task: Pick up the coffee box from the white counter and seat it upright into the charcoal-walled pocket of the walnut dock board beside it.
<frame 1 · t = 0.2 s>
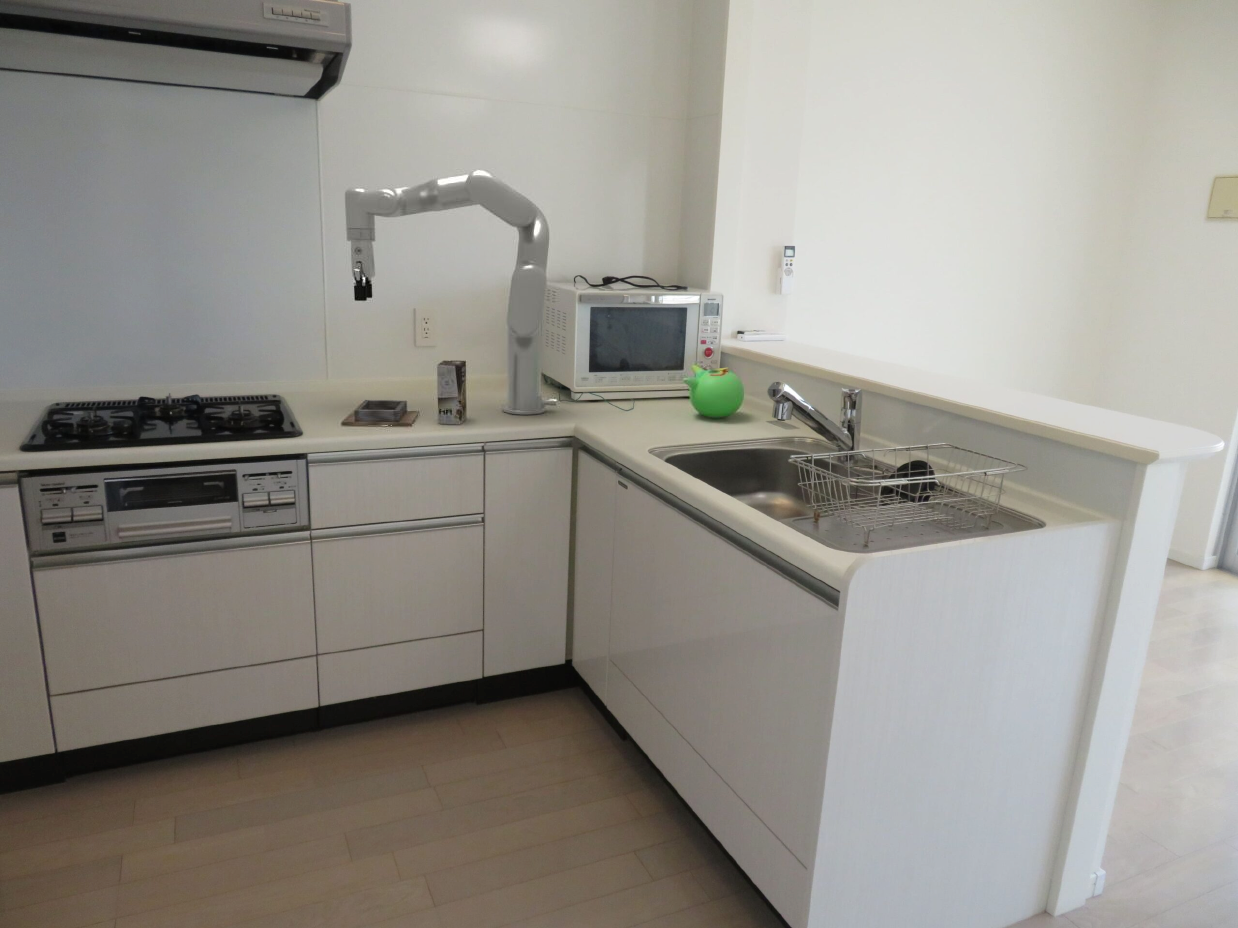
hand: (363, 299, 250), 31 cm above the worktop, tool pointing down, fingers open, 9 cm apart
dock: (381, 419, 244), on the worktop
coffee box: (452, 421, 246), on the worktop
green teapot: (713, 417, 262), on the worktop
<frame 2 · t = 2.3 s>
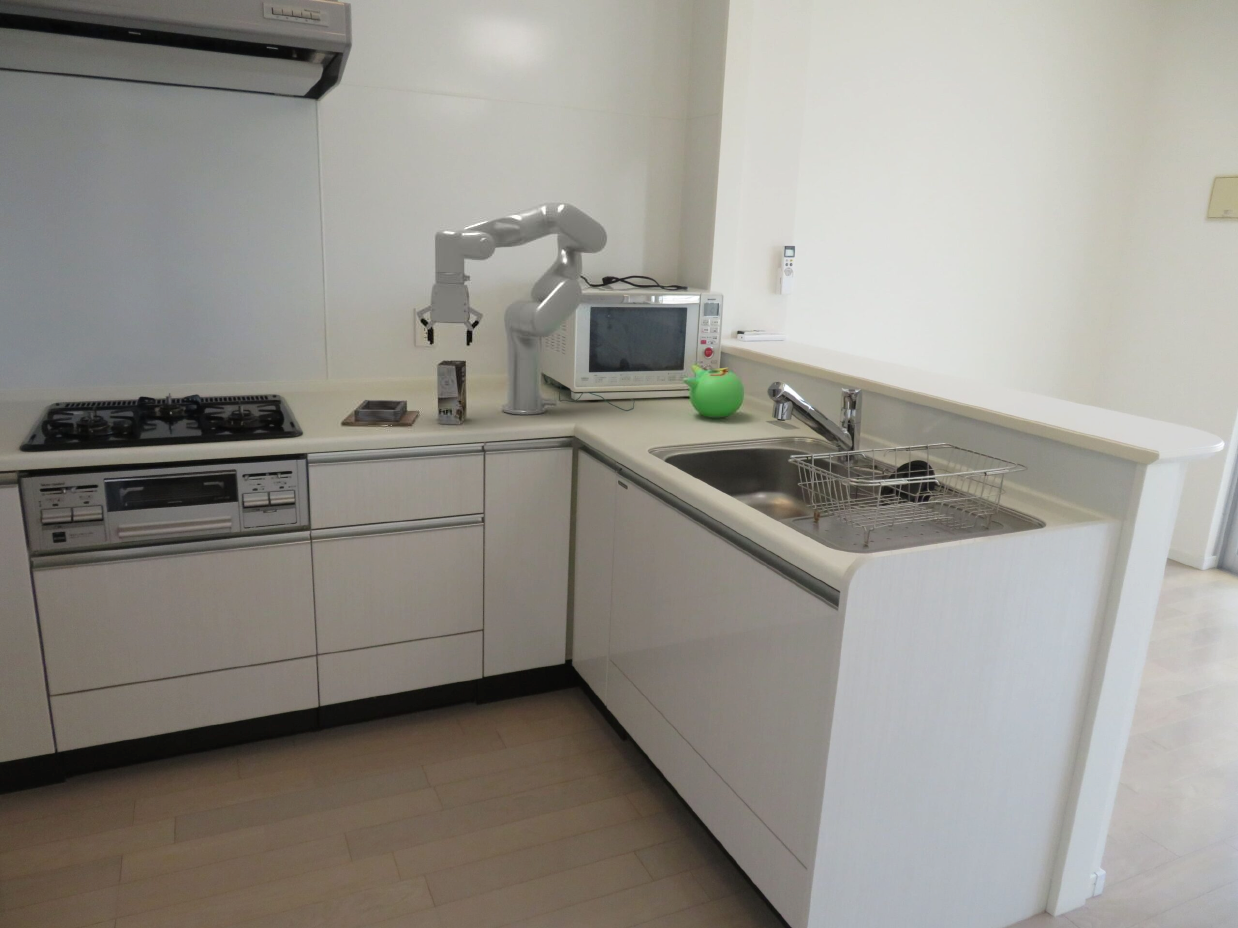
hand: (450, 344, 240), 21 cm above the worktop, tool pointing down, fingers open, 9 cm apart
nothing on the worktop moved.
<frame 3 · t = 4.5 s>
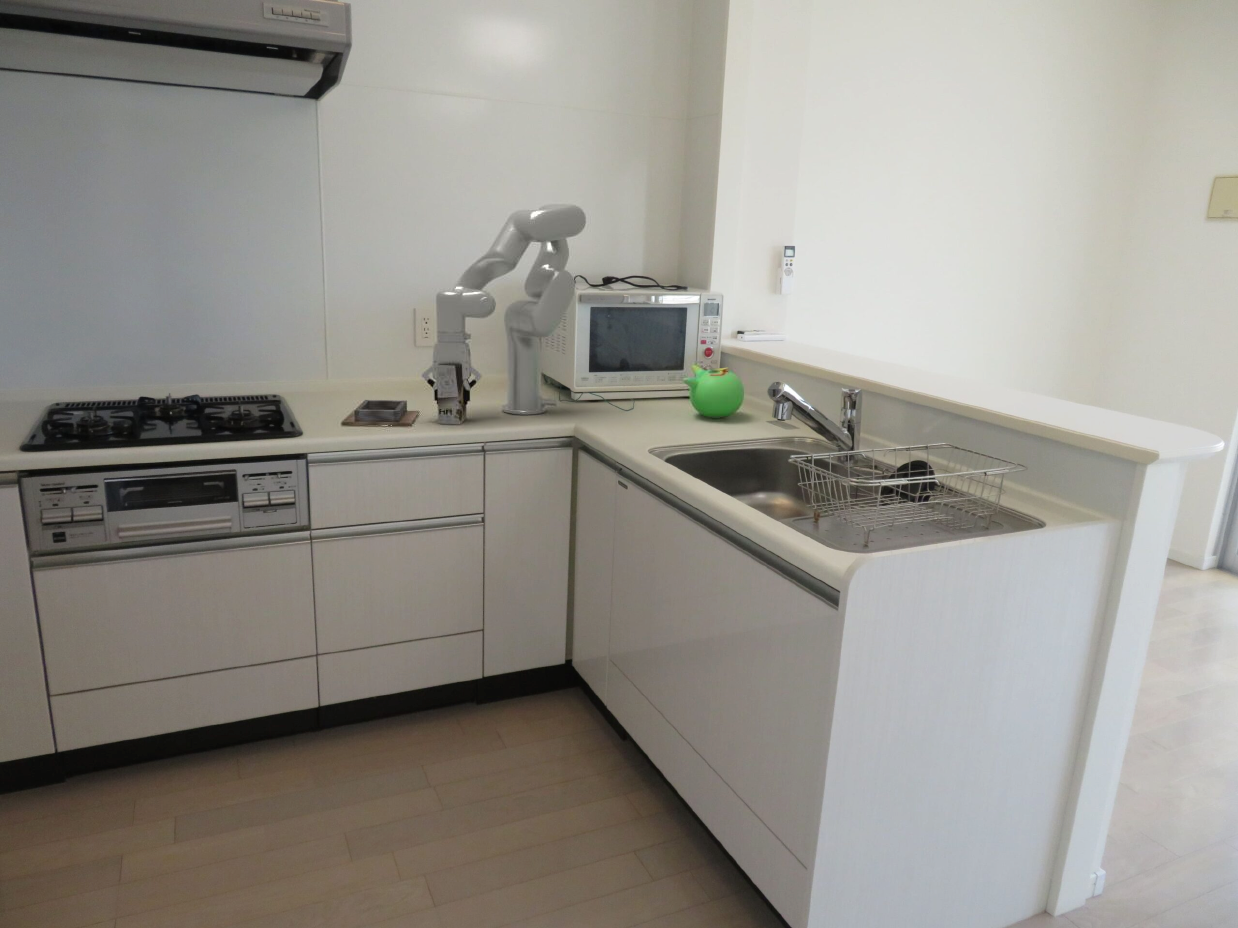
hand: (452, 403, 244), 5 cm above the worktop, tool pointing down, fingers closed on coffee box, 6 cm apart
coffee box: (452, 421, 246), on the worktop, touching gripper
everything else where it was.
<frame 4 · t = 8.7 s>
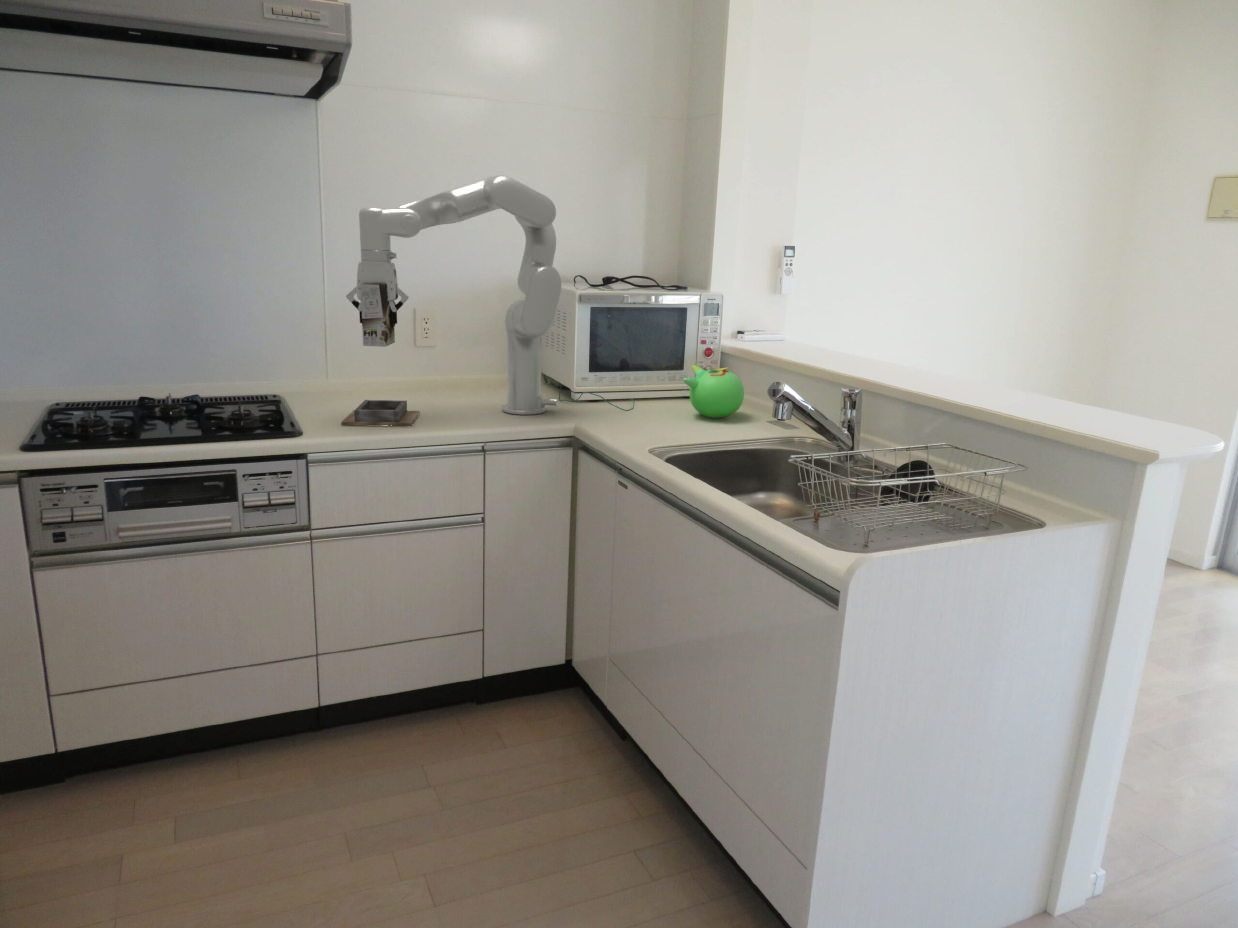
hand: (378, 326, 237), 25 cm above the worktop, tool pointing down, fingers closed on coffee box, 6 cm apart
coffee box: (379, 345, 239), point 20 cm above the worktop, touching gripper
everything else where it was.
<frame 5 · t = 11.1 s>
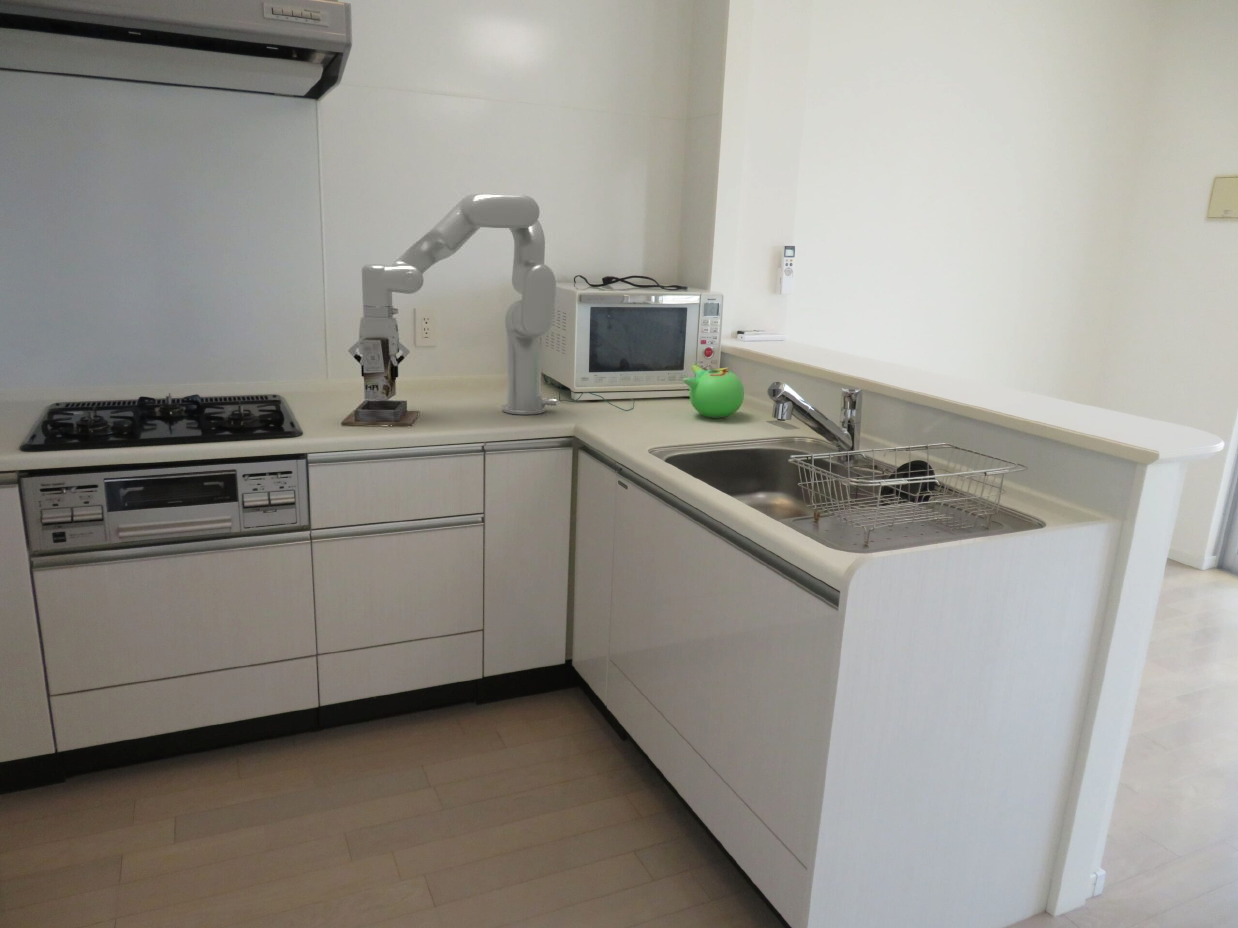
hand: (380, 379, 241), 11 cm above the worktop, tool pointing down, fingers closed on coffee box, 6 cm apart
coffee box: (380, 398, 242), point 6 cm above the worktop, touching gripper
everything else where it was.
when the fingers open (8 cm above the worktop, at t = 12.9 s): coffee box drops 2 cm, resting on dock.
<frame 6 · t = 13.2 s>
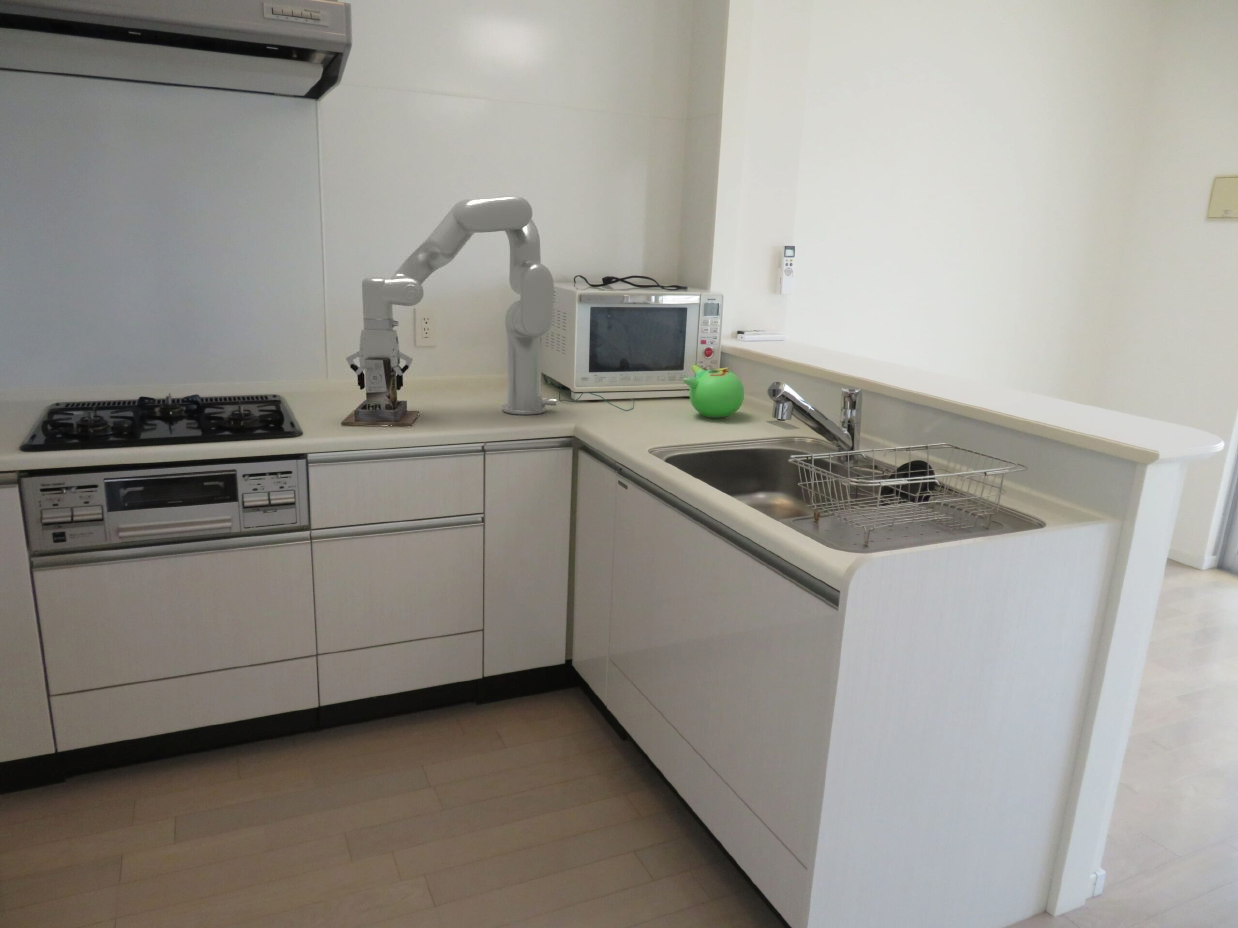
hand: (380, 389, 242), 8 cm above the worktop, tool pointing down, fingers open, 9 cm apart
coffee box: (382, 416, 244), point 1 cm above the worktop, touching dock
everything else where it was.
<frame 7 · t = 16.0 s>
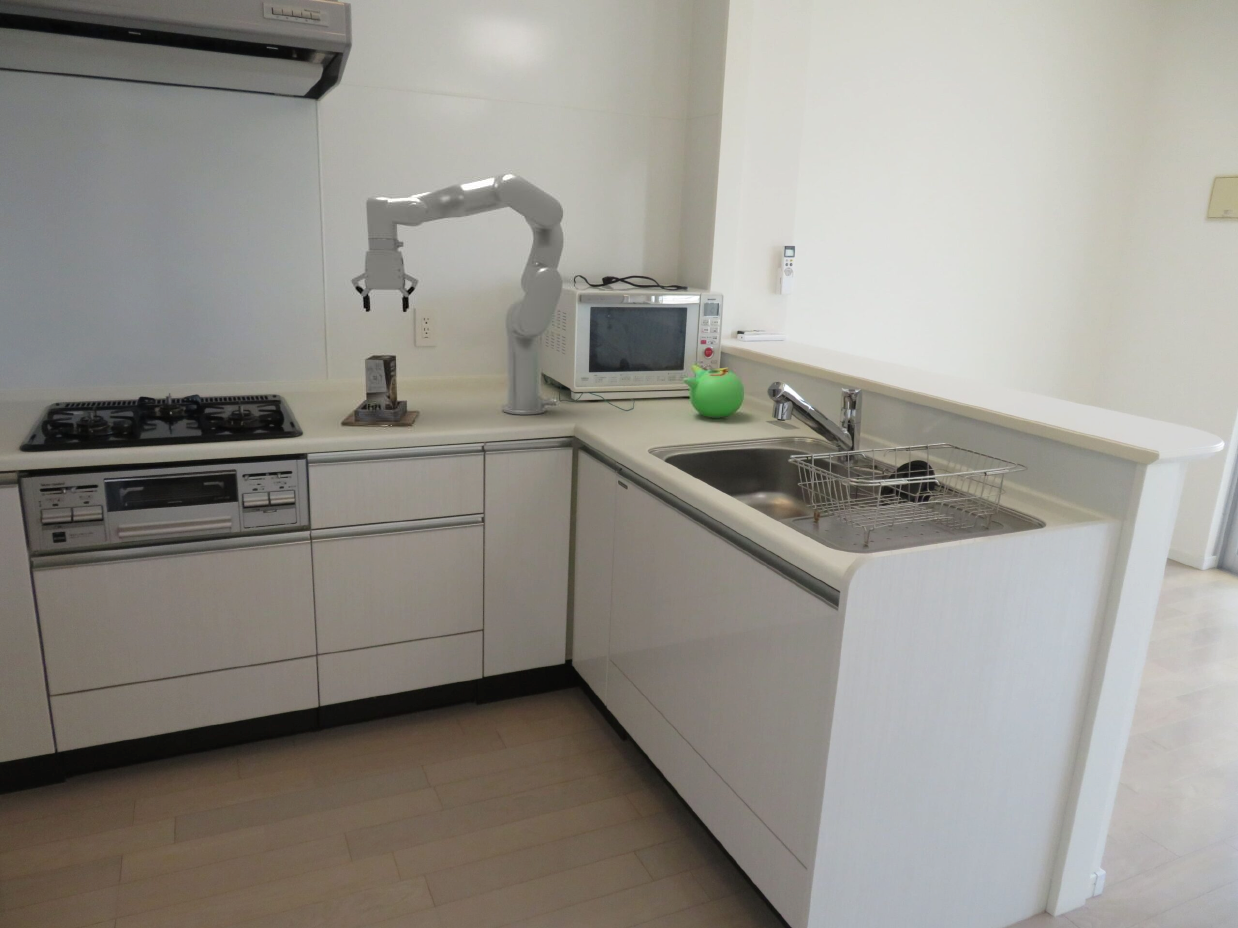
hand: (386, 311, 241), 29 cm above the worktop, tool pointing down, fingers open, 9 cm apart
nothing on the worktop moved.
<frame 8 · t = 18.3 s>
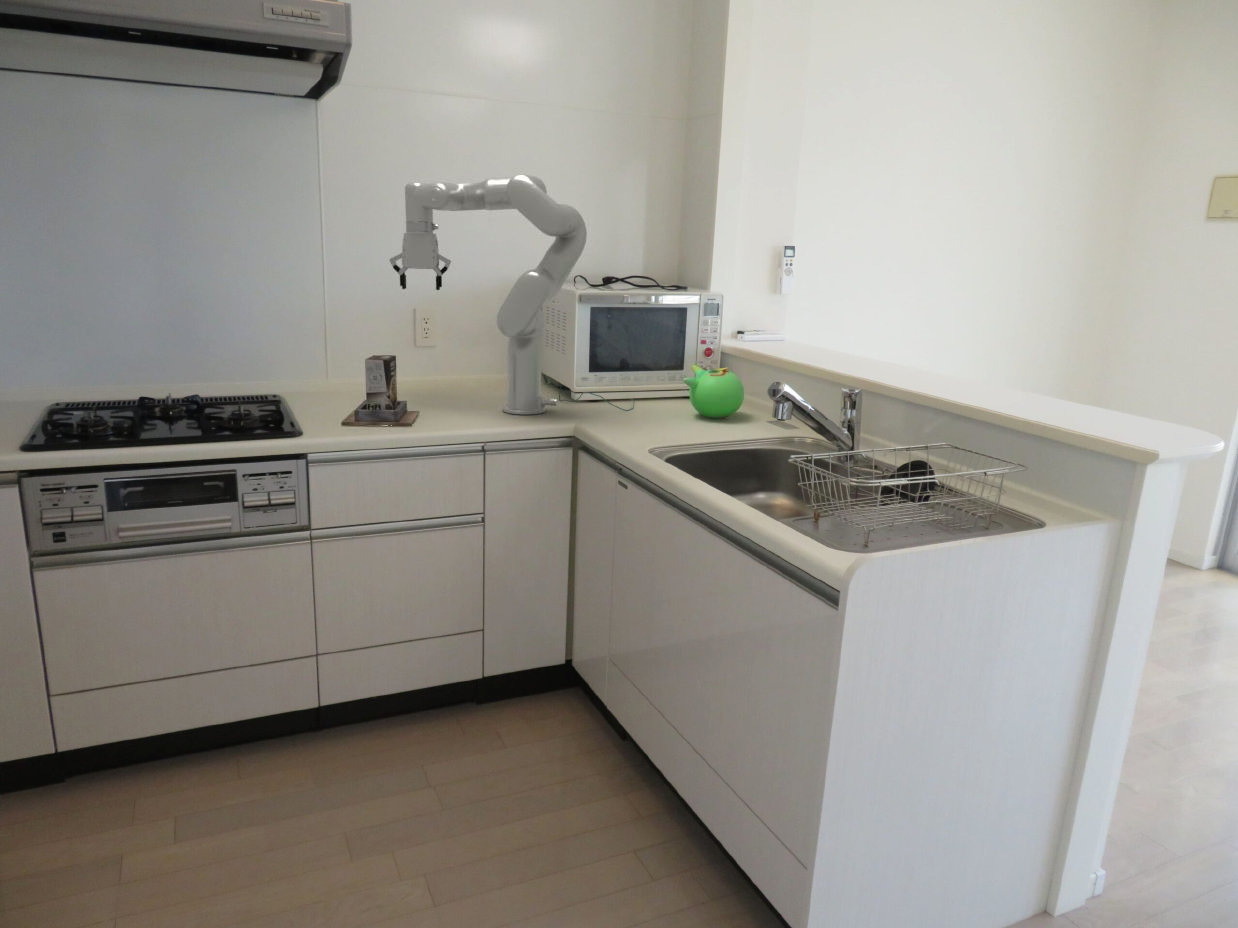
hand: (421, 289, 260), 33 cm above the worktop, tool pointing down, fingers open, 9 cm apart
nothing on the worktop moved.
at the end: coffee box 0.3 cm off-centre on the dock, point 0.8 cm above the dock's base; coffee box tilted 0°; the gripper is holding nothing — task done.
